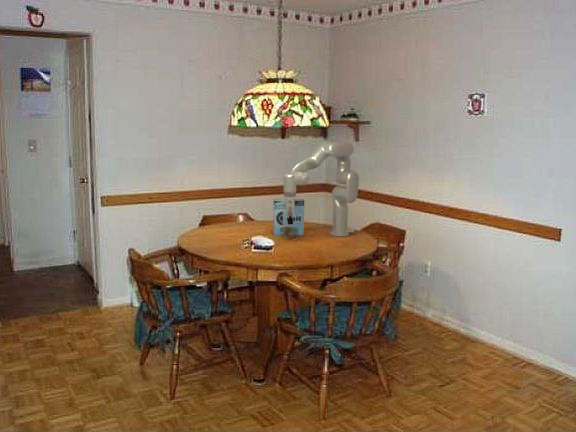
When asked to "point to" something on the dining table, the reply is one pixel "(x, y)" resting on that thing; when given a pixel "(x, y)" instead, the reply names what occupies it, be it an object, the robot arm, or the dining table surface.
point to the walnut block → (288, 233)
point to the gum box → (282, 217)
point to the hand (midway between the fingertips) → (290, 224)
